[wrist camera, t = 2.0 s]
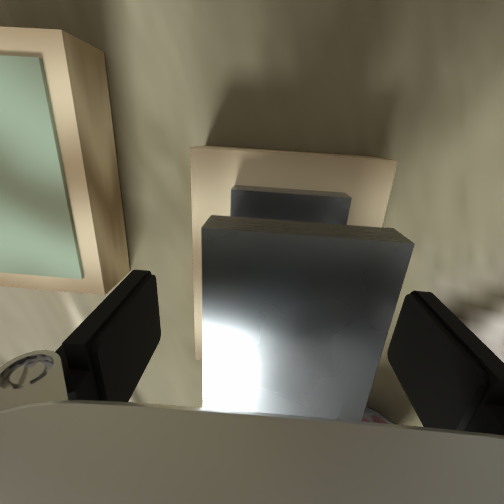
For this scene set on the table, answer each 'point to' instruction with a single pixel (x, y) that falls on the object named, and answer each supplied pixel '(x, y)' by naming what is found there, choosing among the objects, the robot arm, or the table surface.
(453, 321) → the robot arm
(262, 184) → the stand
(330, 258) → the block
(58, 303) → the table surface
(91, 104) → the stand
